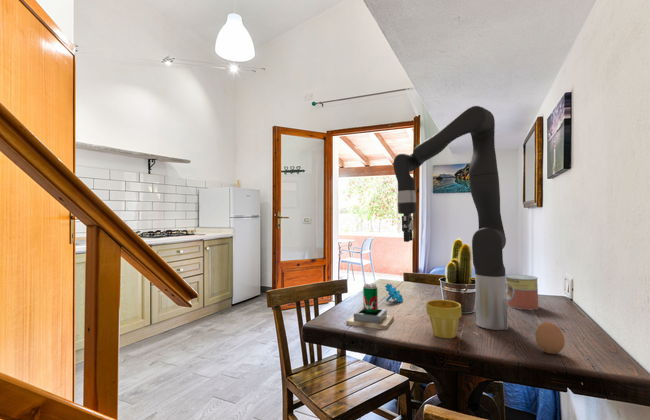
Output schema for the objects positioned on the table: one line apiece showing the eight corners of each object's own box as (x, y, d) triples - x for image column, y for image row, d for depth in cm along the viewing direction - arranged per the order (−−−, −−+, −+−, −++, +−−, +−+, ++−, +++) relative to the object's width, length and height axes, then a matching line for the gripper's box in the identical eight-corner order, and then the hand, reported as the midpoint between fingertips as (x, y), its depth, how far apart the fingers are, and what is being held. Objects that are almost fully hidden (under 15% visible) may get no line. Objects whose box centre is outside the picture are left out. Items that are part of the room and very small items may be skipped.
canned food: (501, 302, 139) (500, 274, 139) (528, 302, 138) (527, 274, 139) (515, 310, 128) (514, 279, 128) (545, 309, 127) (543, 279, 127)
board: (393, 319, 118) (393, 315, 118) (386, 329, 107) (385, 325, 107) (357, 315, 123) (357, 312, 123) (346, 324, 112) (346, 321, 113)
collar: (386, 316, 117) (386, 309, 118) (380, 323, 109) (380, 316, 109) (362, 313, 121) (361, 306, 121) (353, 320, 113) (353, 313, 113)
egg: (568, 359, 82) (567, 327, 83) (539, 356, 85) (538, 324, 85) (560, 350, 88) (559, 319, 89) (533, 347, 91) (532, 317, 91)
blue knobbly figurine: (398, 301, 137) (383, 282, 142) (388, 310, 139) (374, 291, 144) (408, 299, 145) (394, 282, 151) (399, 308, 147) (386, 290, 152)
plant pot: (427, 339, 98) (426, 306, 98) (426, 328, 108) (425, 298, 108) (464, 342, 95) (463, 308, 95) (459, 330, 105) (458, 300, 105)
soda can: (379, 317, 117) (379, 283, 117) (375, 321, 112) (375, 286, 112) (366, 315, 119) (365, 282, 119) (361, 319, 114) (361, 285, 114)
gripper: (413, 200, 126) (415, 242, 125) (418, 202, 139) (419, 240, 139) (394, 201, 129) (396, 242, 128) (400, 203, 142) (402, 240, 141)
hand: (408, 241), depth 133 cm, fingers open, 8 cm apart
